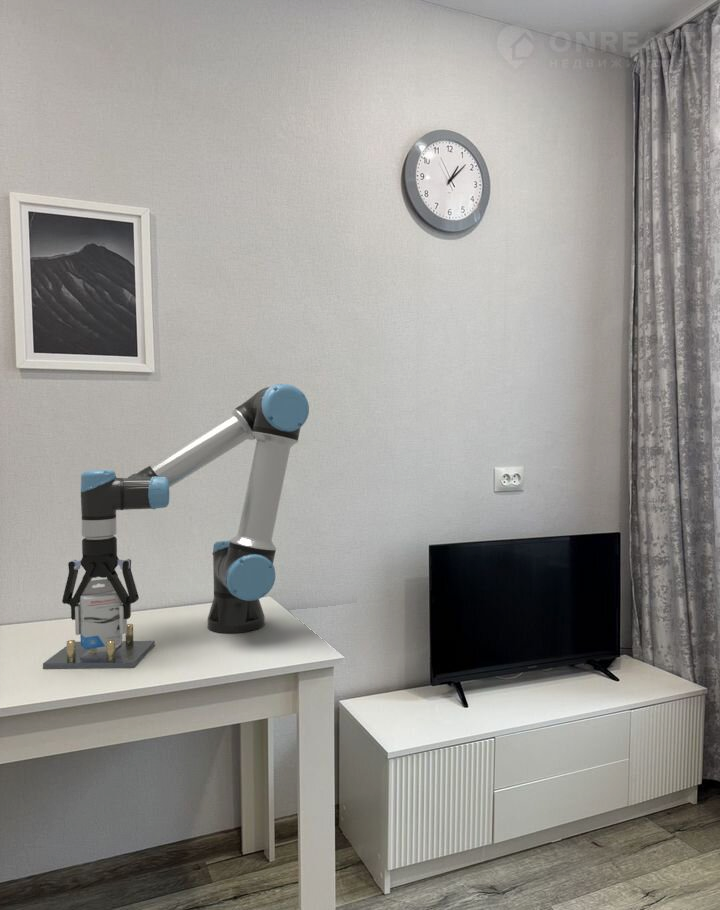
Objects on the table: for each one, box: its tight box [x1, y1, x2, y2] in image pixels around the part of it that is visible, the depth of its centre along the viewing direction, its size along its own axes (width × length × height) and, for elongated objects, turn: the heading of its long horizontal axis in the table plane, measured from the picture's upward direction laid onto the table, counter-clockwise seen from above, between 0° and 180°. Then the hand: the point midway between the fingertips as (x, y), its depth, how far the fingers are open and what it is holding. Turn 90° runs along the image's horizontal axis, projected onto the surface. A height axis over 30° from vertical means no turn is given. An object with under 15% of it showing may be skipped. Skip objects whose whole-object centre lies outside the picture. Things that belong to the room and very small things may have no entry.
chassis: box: [42, 623, 156, 670], centre depth 160 cm, size 20×16×6 cm
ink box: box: [79, 578, 123, 650], centre depth 160 cm, size 8×5×15 cm, turn 123°
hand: (101, 633), depth 160 cm, fingers closed on ink box, 9 cm apart
